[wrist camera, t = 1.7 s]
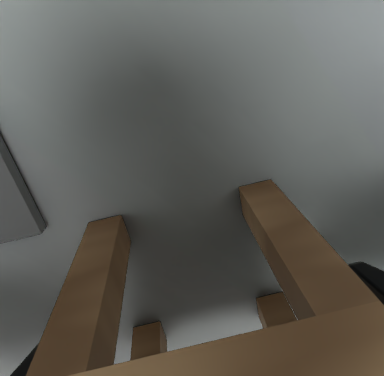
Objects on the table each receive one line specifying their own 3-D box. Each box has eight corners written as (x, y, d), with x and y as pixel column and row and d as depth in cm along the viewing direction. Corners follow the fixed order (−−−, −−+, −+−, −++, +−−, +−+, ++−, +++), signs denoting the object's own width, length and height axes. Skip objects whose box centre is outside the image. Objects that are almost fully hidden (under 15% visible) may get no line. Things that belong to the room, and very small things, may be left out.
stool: (271, 179, 9) (450, 378, 3) (284, 310, 11) (402, 552, 6) (88, 222, 9) (-23, 494, 3) (140, 345, 11) (124, 620, 6)
